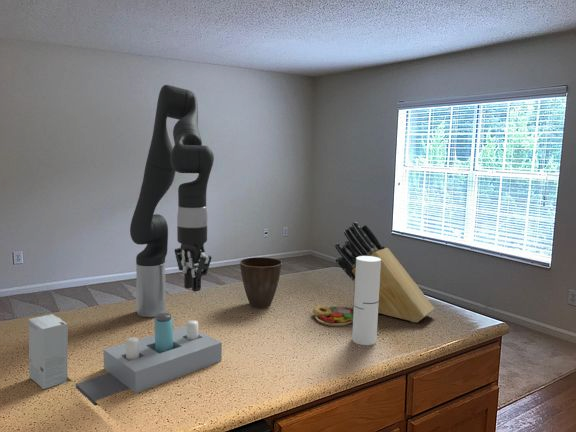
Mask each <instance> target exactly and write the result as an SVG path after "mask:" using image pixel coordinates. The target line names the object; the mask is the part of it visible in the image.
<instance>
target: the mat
mask: <svg viewBox="0 0 576 432" xmlns="http://www.w3.org/2000/svg"><path fill="white" fill-rule="evenodd" d="M75 389H76V390H77V391H78V392H80V394H82V395H83V396H84V397H85V398H86V397H87V398H88V399H87V398H86V399H87V400H88V401H89V402H90V403H92V404H93V405H94V406H96V405H98V403H97V402H96V401H99V400H101V399H104V398H107V397H109V396H112V395H115V394H117V393H120V392H122V391H126V390H130V388H129V387H127V386H126V385H125V384H123V383H122V382H121V381H119V380H118V379H117V378H116V377H114V376H113V375H112V374H110V373H109V372H107V373H105V374H102V375H99V376H95V377H93V378H90V379H89V378H88V379H87V380H84V381H80V382H78V383H75Z"/></svg>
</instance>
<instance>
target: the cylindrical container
mask: <svg viewBox="0 0 576 432" xmlns="http://www.w3.org/2000/svg"><path fill="white" fill-rule="evenodd" d="M380 269H381V259H380V258H378V257H373V256H359V257H356V273H355V279H354V280H355V293H354V292H353V312H352V314H353V321H352V336H351V337H352V338H351V340H352V342H353V343H355V344H358V345H361V346H373V345H375V344H376V343H377V336H378V335H377V334H378V319H379V318H378V317H379V313H378V304H379V287H380Z"/></svg>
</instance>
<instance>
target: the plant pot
mask: <svg viewBox="0 0 576 432" xmlns="http://www.w3.org/2000/svg"><path fill="white" fill-rule="evenodd" d="M282 264H283V262H282V260H280V259H278V258H273V257H262V256H261V257H259V256H257V257H247V258H243V259H241V260H240V261H239V266H240V274H241V279H242V283H243V288H244V292H245V295H246V298H247V301H248V303H249V306H250V307H252V308H255V309H266V308H269V307H271V305H272V303H273V301H274V297H275V294H276V292H277V288H278V284H279V280H280V278H281V277H280V276H281V270H282Z"/></svg>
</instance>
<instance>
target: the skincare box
mask: <svg viewBox="0 0 576 432" xmlns="http://www.w3.org/2000/svg"><path fill="white" fill-rule="evenodd" d="M28 352H29V353H28V367H29V368H28V369H29V370H28V372H29V379H31V380H32V381H34V383H36V384H37V385H38V386H39V387H40V388H41V389H42V390H46V389H50V388H52V387H54V386H58V385H61V384H64V383H67V382H68V381H69V380H68V378H69V377H68V372H69V371H68V369H69V368H68V323H67V322H66V321H63V319H62V318H60V317H58V316H56V315H55V314H52V313H51V314H47V315H42V316H37V317H32V318H29V319H28Z"/></svg>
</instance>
